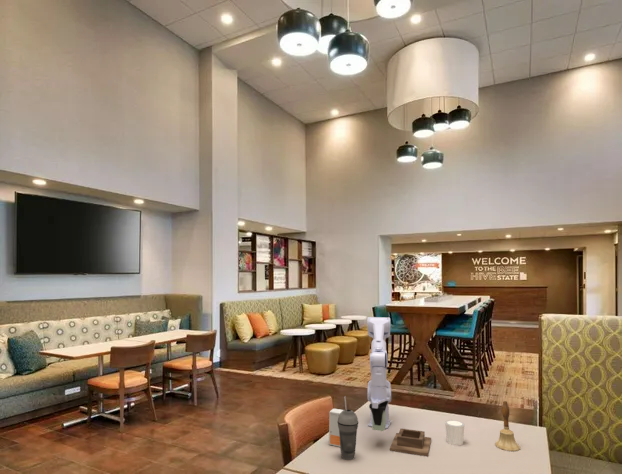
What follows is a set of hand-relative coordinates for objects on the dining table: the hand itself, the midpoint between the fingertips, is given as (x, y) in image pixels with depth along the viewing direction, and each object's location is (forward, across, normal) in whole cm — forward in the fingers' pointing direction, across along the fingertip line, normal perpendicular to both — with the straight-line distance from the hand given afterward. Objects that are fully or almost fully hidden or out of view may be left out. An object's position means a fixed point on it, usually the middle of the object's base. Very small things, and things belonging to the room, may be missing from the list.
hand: (379, 422), depth 154 cm
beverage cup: (+8, -14, +8) cm, 18 cm away
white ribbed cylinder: (+8, +13, -26) cm, 30 cm away
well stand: (+8, +4, -11) cm, 14 cm away
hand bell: (+8, +16, -44) cm, 47 cm away
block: (+2, 0, 0) cm, 2 cm away
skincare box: (+8, -5, +14) cm, 17 cm away
